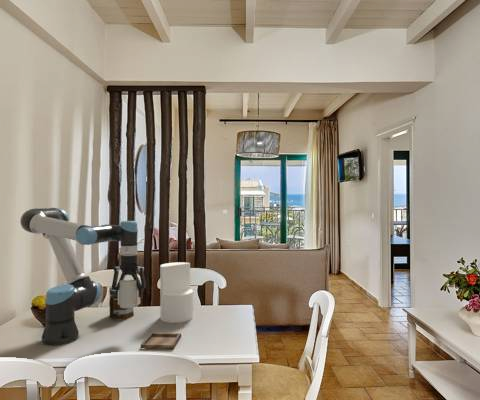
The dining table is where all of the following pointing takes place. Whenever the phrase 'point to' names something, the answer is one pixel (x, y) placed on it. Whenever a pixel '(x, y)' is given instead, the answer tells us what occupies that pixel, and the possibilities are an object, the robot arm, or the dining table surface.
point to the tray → (161, 341)
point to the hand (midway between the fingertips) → (129, 303)
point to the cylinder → (175, 292)
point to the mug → (118, 307)
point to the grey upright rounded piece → (128, 293)
